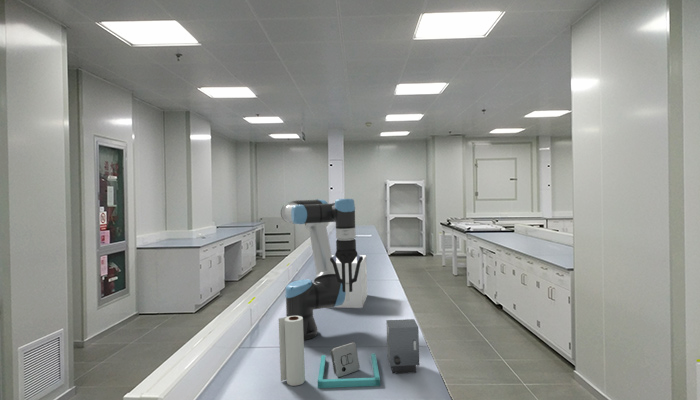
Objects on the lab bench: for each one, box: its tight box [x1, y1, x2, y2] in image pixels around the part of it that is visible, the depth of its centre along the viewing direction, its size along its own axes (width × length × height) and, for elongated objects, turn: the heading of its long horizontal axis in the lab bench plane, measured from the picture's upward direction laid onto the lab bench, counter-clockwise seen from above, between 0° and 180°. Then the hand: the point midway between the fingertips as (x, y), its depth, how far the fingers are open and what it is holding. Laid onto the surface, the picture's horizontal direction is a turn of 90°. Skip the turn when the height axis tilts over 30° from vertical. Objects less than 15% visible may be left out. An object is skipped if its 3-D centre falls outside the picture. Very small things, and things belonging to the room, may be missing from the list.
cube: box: [332, 254, 368, 309], centre depth 221 cm, size 25×21×24 cm
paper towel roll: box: [278, 316, 306, 387], centre depth 129 cm, size 7×6×21 cm
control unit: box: [385, 318, 420, 374], centre depth 135 cm, size 10×10×16 cm
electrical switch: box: [329, 342, 361, 378], centre depth 135 cm, size 9×5×9 cm, turn 125°
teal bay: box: [317, 352, 381, 389], centre depth 134 cm, size 20×20×2 cm
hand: (347, 300), depth 149 cm, fingers closed
